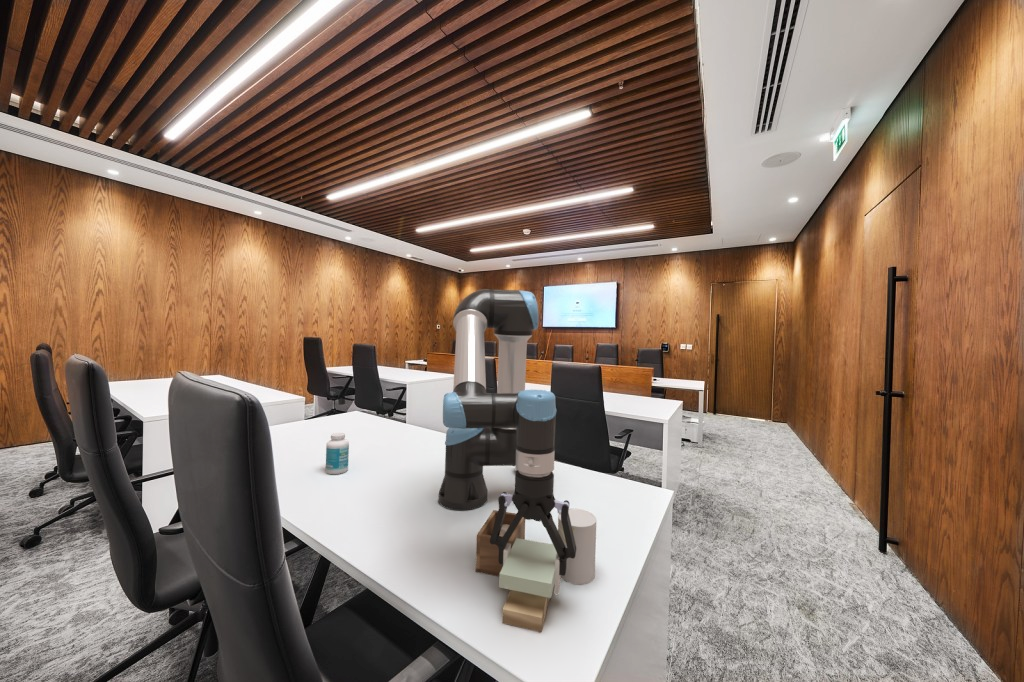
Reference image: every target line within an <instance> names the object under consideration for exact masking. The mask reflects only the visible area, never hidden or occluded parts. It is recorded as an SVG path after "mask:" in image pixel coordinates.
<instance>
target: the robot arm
mask: <svg viewBox="0 0 1024 682" xmlns="http://www.w3.org/2000/svg"><path fill="white" fill-rule="evenodd" d="M536 298H537V297H536V296H535V294H534V293H533V292H531V291H527V290H520V289H518V290H515V289H514V290H513V289H489V288H488V289H487V288H483V289H478V290H476V291H473V292H470V294H468V295H466V297H464V298H463V299H462V300H461V302H459V303H458V305H457V306H456V309H455V311H454V314H453V318H452V319H453V320H452V326H453V329H454V331H455V350H454V351H455V352H454V366H453V367H454V369H453V370H454V372H453V390H452V392H446V393H445V394H444V395H443V400H442V423H443V426H445V427H446V428H447V430H446V433H445V441H444V445H445V457H444V458H445V459H444V461H445V462H444V463H445V464H444V476H443V478H442V479H443V480H442V483H441V485H440V487H439V491H438V498H437V500H438V504H440V505H441V506H442V507H444V508H446V509H448V510H449V509H450V510H453V511H468V510H474V509H478V508H481V507H482V506H484V505H485V504H487V502H488V499H489V492H488V488H487V484H486V481H485V477H484V467H493V466H494V467H503V466H504V467H507V466H510V467H511V466H512V467H515V469H516V471H515V473H514V492H513V494H512V493H511V494H509V493H507V492H506V491H503V492H502V493H501V494H500V496H499V497H498V501H497V502H498V510H497V511H498V513H497V517H496V520H495V524H494V527H493V531H492V534H491V537H490V543H491V544H495V545H497V546H498V548H499V559H498V561H499V564H503V565H504V563H505V561H506V559H507V557H508V555H509V553H510V551H511V544H509V543H507V542H508V540H509V539H510V537H511V535H512V534H513V532H514V530H515V529H516V527H517V525H518V524H519V522H520V521H521V519H522V517H524V519H525V520H528V521H529V520H530V521H531V520H533V521H534V522H541V523H542V526H543V528H545V530H546V532H547V535H548V536H549V538H550V541H551V544H553V545H554V547H555V549H556V552H557V555H556V559H555V582H554V589H553V590H554V591H553V592H554V595H558V596H559V594H560V588H561V575H562V576H565V574H566V564H567V558H572V559H573V558H575V556H576V544H575V539H574V535H573V530H572V526H571V522H570V517H569V513H568V512H569V509H570V501H569V500H564V501H559V500H556V498H555V494H554V487H555V485H554V484H555V483H554V481H555V479H554V477H555V474H554V472H553V471H554V470H555V453H556V452H555V442H556V440H555V439H556V418H557V417H556V415H557V408H556V395H555V394H554V393H553V392H552V391H547V390H545V389H544V390H543V389H526V373H527V371H526V369H527V352H528V351H527V347H528V346H527V345H528V341H529V340H530V338H532V336H533V331H536V330H537V329H539V328H538V327H539V320H540V319H539V318H540V317H539V306H538V302H537V299H536ZM487 329H494V331H493V335H494V336H495V337H496V338H497V340H498V357H497V358H498V359H497V361H498V362H497V385H496V386H497V388H496V393H495V392H494V393H493V392H492V393H491V392H490V393H489V392H487V380H486V377H487V375H486V352H485V351H486V350H485V332H486V330H487ZM511 503H512V504H513V505H514V506H515V508H516V510H517V512H516V516H515V517H514V519H513V521H512V522H511V524H510V526H509V527H508V529H507V531H506V532H505V534H504V536H503V537H501V536H499V534H500V531H501V527H502V524H503V520H504V517H505V513H506V512H507V510H508V507H509V506H510V505H511ZM554 508H555V509H556V510H557V514H558V515H559V514H560V515H561V522H562V527H563V531H564V535H565V540H566V544H567V548H566V547H565V544H564V542H563V540H562V538H561V536H560V534H559V532H558V526H557V525H556V523H555V521H554V519H553V516H552V513H551V512H552V511H553V510H554Z"/></svg>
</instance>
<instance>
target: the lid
mask: <svg viewBox="0 0 1024 682" xmlns="http://www.w3.org/2000/svg"><path fill="white" fill-rule="evenodd" d="M556 555H557V552H556V549H555V547H554V545H553V543H548V542H547V543H546V542H541V541H535V540H530V539H525V540H524V539H519V538H516V540H515V542H514V544H513V546H512V548H511V551H510V553H509V555H508V557H507V559H506V561H505V563H504V565H503V567H502V570H501V572H500V574H499V577H498V578H499V580H498V584H499V585H498V587H499V588H501V589H506V590H509V591H510V590H514V591H519V592H524V593H529V594H534V595H539V596H543V597H548V598H549V599H552V595H553V592H554V591H553V590H554V588H555V559H556Z"/></svg>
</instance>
